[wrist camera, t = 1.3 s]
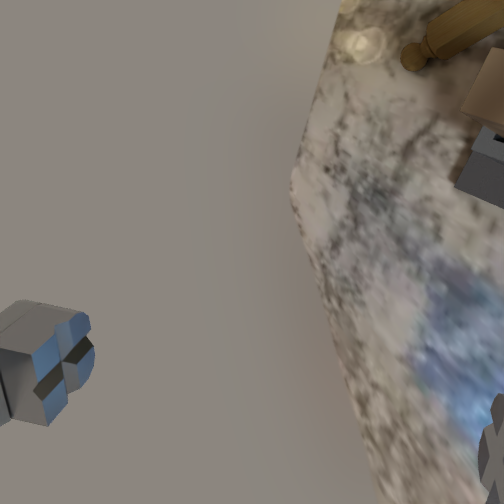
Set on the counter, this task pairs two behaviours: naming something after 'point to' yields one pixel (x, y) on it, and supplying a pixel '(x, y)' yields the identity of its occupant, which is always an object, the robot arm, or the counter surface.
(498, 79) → the column
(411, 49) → the tap handle
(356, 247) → the counter surface
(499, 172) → the stand
